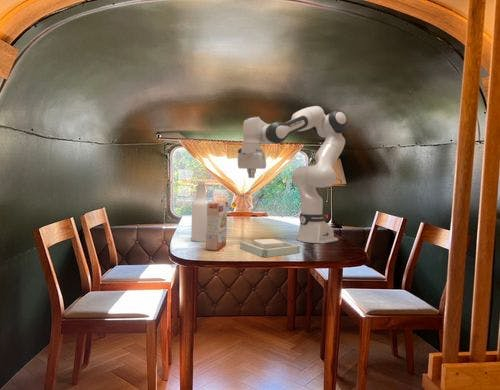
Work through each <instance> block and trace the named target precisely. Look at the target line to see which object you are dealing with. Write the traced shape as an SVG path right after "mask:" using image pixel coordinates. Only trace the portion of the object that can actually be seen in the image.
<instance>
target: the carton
mask: <svg viewBox="0 0 500 390" xmlns="http://www.w3.org/2000/svg"><path fill="white" fill-rule="evenodd" d="M275 239H276V238H261V239H252V245H254V246H257V247H260V248H263V249H271V248H280V247H284V243H283V242H280V241H281V240H280V241H277V240H278V239H277V240H275Z"/></svg>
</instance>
